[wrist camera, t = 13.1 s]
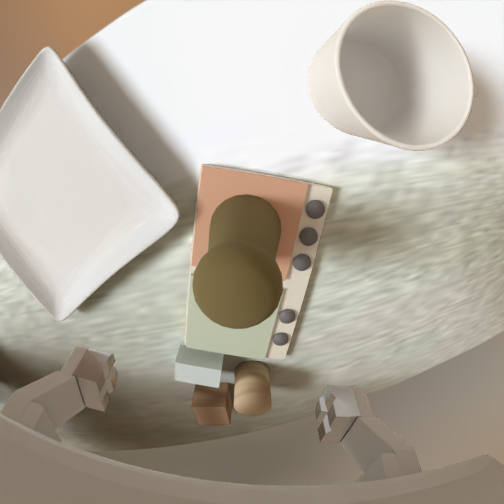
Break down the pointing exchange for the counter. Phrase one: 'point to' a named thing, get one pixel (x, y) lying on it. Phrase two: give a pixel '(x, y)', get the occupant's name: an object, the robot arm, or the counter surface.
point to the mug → (393, 77)
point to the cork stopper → (252, 388)
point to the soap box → (198, 366)
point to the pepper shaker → (240, 264)
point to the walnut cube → (212, 404)
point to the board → (288, 259)
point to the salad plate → (70, 191)
